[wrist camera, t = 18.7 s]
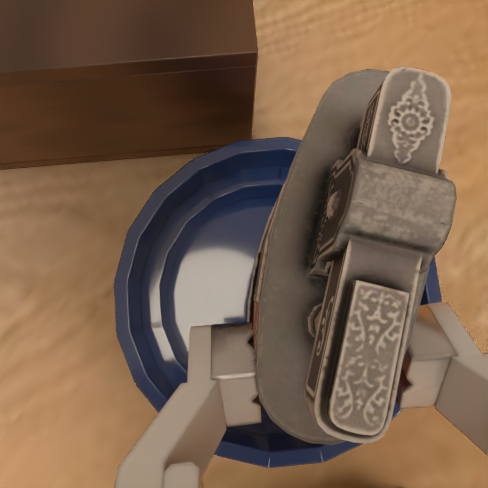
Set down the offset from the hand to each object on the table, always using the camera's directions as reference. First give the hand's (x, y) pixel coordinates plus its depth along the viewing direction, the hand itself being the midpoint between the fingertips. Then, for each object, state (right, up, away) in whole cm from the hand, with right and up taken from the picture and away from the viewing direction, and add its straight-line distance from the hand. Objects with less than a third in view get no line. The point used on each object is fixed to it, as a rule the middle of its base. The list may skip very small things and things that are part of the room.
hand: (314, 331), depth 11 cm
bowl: (0, -1, +11) cm, 11 cm away
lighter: (0, +1, +6) cm, 6 cm away
